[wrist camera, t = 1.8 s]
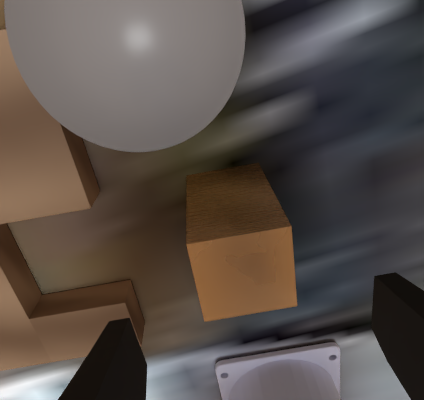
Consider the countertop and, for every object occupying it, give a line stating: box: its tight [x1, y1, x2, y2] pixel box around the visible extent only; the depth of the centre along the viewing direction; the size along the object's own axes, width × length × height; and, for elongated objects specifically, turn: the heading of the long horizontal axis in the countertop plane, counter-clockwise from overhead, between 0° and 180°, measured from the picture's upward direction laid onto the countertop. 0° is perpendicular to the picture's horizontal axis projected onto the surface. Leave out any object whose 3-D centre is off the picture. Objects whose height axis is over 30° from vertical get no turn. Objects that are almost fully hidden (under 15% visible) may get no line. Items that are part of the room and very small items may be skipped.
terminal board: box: [0, 29, 145, 371], centre depth 16 cm, size 16×8×2 cm, turn 9°
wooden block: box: [186, 163, 297, 322], centre depth 15 cm, size 4×4×6 cm
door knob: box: [4, 0, 245, 152], centre depth 12 cm, size 7×7×6 cm
